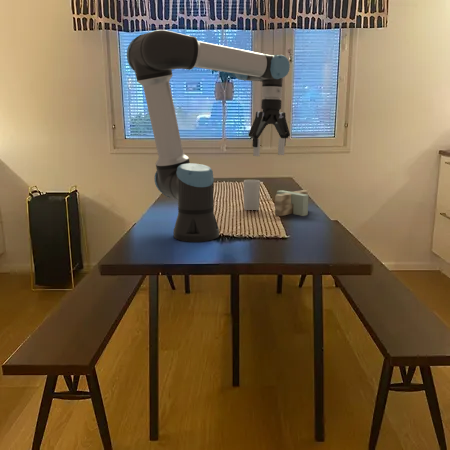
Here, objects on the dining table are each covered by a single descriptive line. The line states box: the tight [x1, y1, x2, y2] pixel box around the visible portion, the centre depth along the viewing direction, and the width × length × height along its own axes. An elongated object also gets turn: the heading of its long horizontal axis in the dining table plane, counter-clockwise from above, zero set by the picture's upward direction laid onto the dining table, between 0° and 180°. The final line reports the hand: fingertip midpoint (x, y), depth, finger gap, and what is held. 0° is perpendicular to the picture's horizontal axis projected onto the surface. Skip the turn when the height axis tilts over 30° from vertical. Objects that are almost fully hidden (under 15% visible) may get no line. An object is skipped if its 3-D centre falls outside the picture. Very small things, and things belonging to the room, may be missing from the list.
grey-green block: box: [276, 189, 309, 217], centre depth 186 cm, size 3×14×8 cm, turn 40°
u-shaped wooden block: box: [274, 189, 309, 217], centre depth 187 cm, size 16×3×8 cm, turn 130°
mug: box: [243, 179, 261, 212], centre depth 194 cm, size 10×7×12 cm, turn 172°
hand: (268, 155), depth 180 cm, fingers open, 13 cm apart
